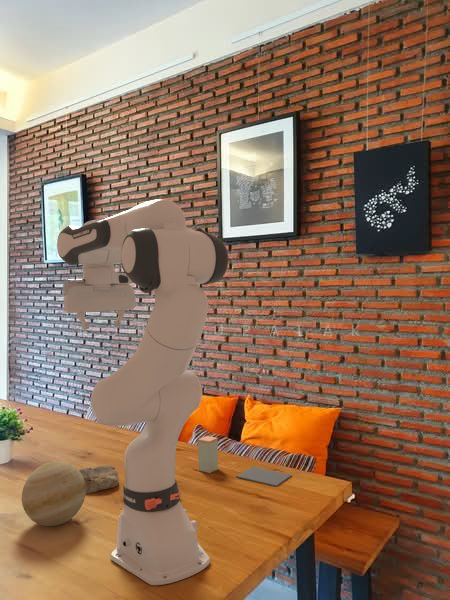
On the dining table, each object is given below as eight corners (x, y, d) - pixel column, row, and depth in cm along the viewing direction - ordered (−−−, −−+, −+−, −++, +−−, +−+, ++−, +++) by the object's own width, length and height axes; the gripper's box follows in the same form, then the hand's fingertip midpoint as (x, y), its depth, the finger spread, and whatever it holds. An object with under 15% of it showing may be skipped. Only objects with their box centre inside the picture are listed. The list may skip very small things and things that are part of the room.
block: (218, 468, 156) (217, 437, 156) (209, 472, 152) (209, 441, 152) (207, 466, 158) (206, 435, 158) (198, 470, 155) (198, 439, 155)
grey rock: (50, 502, 132) (123, 488, 140) (49, 485, 132) (122, 472, 140) (47, 486, 145) (113, 474, 153) (46, 470, 145) (113, 459, 153)
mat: (291, 476, 148) (291, 474, 148) (276, 486, 140) (276, 485, 140) (253, 467, 156) (253, 466, 156) (236, 477, 148) (236, 476, 148)
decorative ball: (60, 542, 110) (59, 476, 110) (8, 532, 114) (7, 470, 114) (98, 514, 124) (97, 455, 124) (50, 506, 129) (49, 451, 129)
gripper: (66, 278, 127) (69, 330, 127) (136, 277, 139) (139, 325, 139) (58, 280, 132) (61, 330, 132) (127, 279, 144) (129, 325, 144)
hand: (102, 327), depth 135 cm, fingers open, 8 cm apart
